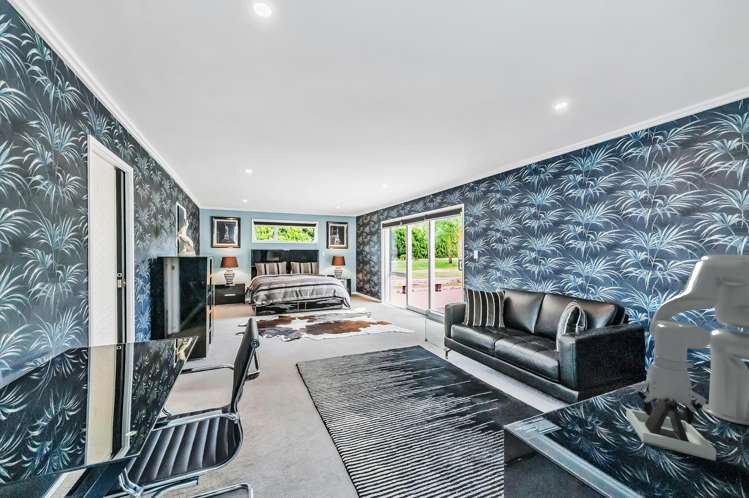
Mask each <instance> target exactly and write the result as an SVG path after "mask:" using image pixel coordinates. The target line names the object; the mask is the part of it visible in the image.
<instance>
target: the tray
mask: <svg viewBox="0 0 749 498" xmlns="http://www.w3.org/2000/svg"><path fill="white" fill-rule="evenodd" d="M625 418H627V420H628V422H629V424H630V425H631V427H632V429H634V431H635V433H636V434H637V435H638V438H639V439H640V440H641V442H642V443H643V444H646V445H651V446H655V447H659V448H663V449H666V450H667V449H668V450H672V451H674V452H678V453H683V454H686V455H691V456H695V457H698V458H702V459H707V460H710V461H716V460H717V448H715V447H714V446H713V445H712V444H711V443H710V442H709V441H708V440H707V439H706V438H705V437H704V436H703V435H702V434H701V433H700V432H699V431H698V430H697V429H696V428H695V427H694V426H693V425H692V424H691V425H690V424H688V423H687V422H686V421H685V420H684V419H683V420H682V419H680V420H681V422H682V425H683V427H684V430H685V432H686V435H687V437H688V440H689V442H686V441H682V440H678V439H674V438H670V437H665V436H661V435H657V434H653V433H650V432H649V430H648V429H647V427H646V426H645V423H646V421H647V419H648V418H649V415H647V414H646V413H645V411H641V410H636V409H632V408H626V417H625ZM661 428H663V429H667V430H671V431H673V427H672V423H671V420H670V416H666V418H665V420H664V423H663V425H662V427H661Z"/></svg>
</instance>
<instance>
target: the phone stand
mask: <svg viewBox="0 0 749 498" xmlns="http://www.w3.org/2000/svg"><path fill="white" fill-rule="evenodd" d="M672 401H674V400H672ZM678 404H679V403H676V402H675V401H674V402H671V401H670V400H669V399H666V400H661V399H657V402H656V404H655V406H654V407H653V409H652V410H651V415H650V416H649V418H648V419H647V421H646V423H645V426H646V427H647V429H648V430H649V432H650V433H653V434H657V435H661V436H665V437H670V438H674V439H678V440H682V441H686V442H689V440H688V437H687V435H686V432H685V430H684V427H683V425H682V422H681V420H682V419H681V418H680V413H679V412H678V407H679V405H678ZM666 417H669V418H670V420H671V423H672V427H673V431H671V430H667V429H663V428H661V427H662V425H663V423H664V420H665V418H666Z"/></svg>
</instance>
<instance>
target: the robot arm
mask: <svg viewBox="0 0 749 498" xmlns="http://www.w3.org/2000/svg"><path fill="white" fill-rule="evenodd" d="M712 307H714V317H715V320H716V322H718V323H719V324H721V325H723V326H728V327H732V328H738V329H744V330H745V329H746V330H749V254H729V253H728V254H727V253H726V254H724V253H723V254H722V253H721V254H719V253H718V254H717V253H715V254H712V253H711V254H706V255H703V256H701V258H700V259H699V261H697V262H696V263H695V264H694V265H693V266H692V269H691V272H690V274H689V276H688V278H687V282H686V284H685V286H684V288H683V290H682V293H681V294H679V295H676V296H673V297H672V298H670V299H668V300H667V301H665V302H663V303H662V304H661V305H659V306H658V307H657V309H656V310H655V311H654V314H653V316H652V319H651V320H650V324H649V334H650V335H651V336H650V337H652V338H653V339H654V347H653V363H649V366H648V369H647V373H646V380H645V381H642V382H638V383H634V384H633V385H632V387H633V389H634V390H635V392H636V394H637V395H638V396H639V397H640V398H641V399H642V410H643V412H645V413H646V414H647V415H649V416H650V415H651V412H652V403H651V401H653V400H654V399H657V400H658V399H661V400H666V399H669V400H670V401H671V402H674V401H675V402H676V403H677V404H683V405H684V406H685V407H684V408H683V421H686V422H687V423H688V424H690V425H692V422H694V416H695V413H696V412H697V410H699V409H701V408H702V410H703V411H704V412H706V413H707V414H709V415H711V416H714V417H716V418H718V419H721V420H724V421H728V422H730V423H735V424H740V425H747V426H749V367H748V366H747V365H746V363H745V362H744V361H743V360H747V361H749V332H746V331H741V330H735V329H730V328H714V329H712V330H711V331H710V332H709V331H708V330H707V329H706V328H704V327H702V326H699V325H695V324H690V323H684V322H681V321H680V322H679V321H675V320H671V319H672V318H674V317H675V316H677V315H679V314H681V313H682V314H683V313H685V312H690V311H698V310H704V309H709V308H712ZM708 346H709V352H710V373H709V374H710V375H709V391H708V393H709V394H708V395H709V396H708V397H709V398H708V403H706V402H707V399H706V398H705V397H703V396H702V395H700V394H698V393H696V392H695V391H693V390H692V389H693V388H692V382H691V376H690V372H689V371H688V369H692V368H693V367H694V366H693V363H691V362H688V360H687V359H688V349H689V350H690V349H691V350H702V349H705V348H707V347H708ZM641 389H644V390H645V391H646V392H645V393H643V391H642V390H641ZM693 398H695V399H696V401H694V402H692V399H693ZM672 400H674V401H672ZM705 403H706V404H705Z"/></svg>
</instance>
